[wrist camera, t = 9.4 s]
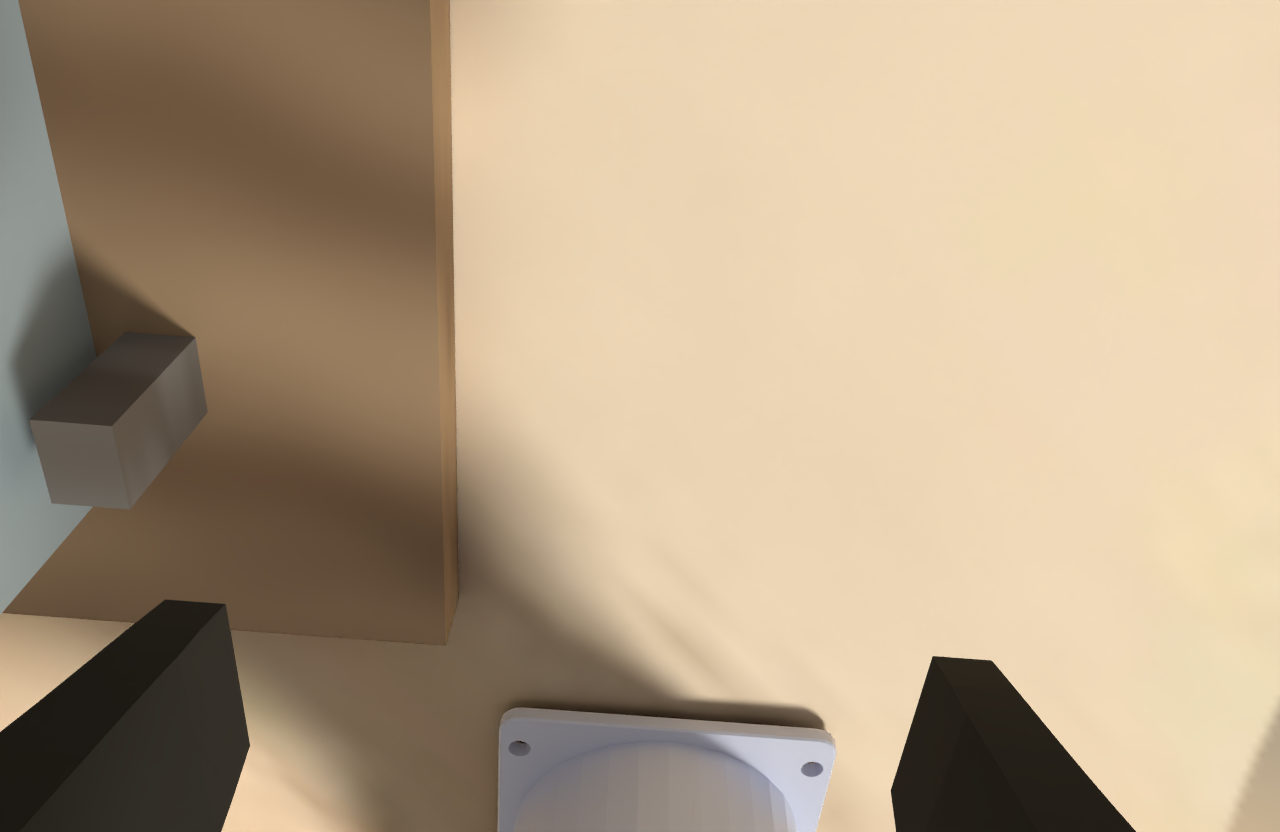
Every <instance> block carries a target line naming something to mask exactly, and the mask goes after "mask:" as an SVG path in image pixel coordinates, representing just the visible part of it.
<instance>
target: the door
mask: <svg viewBox="0 0 1280 832" xmlns="http://www.w3.org/2000/svg"><path fill="white" fill-rule="evenodd" d="M96 358H97V356H96V351H95V347H94V342H93V338H92V333H91V328H90V324H89V319H88V315H87V310H86V306H85V301H84V297H83V292H82V288H81V283H80V279H79V274H78V270H77V265H76V260H75V256H74V251H73V247H72V242H71V238H70V233H69V229H68V224H67V220H66V215H65V211H64V206H63V202H62V197H61V192H60V188H59V183H58V179H57V174H56V170H55V165H54V161H53V156H52V152H51V147H50V143H49V138H48V134H47V129H46V124H45V120H44V115H43V111H42V106H41V102H40V97H39V93H38V88H37V84H36V79H35V75H34V70H33V66H32V61H31V57H30V52H29V47H28V43H27V38H26V34H25V29H24V25H23V20H22V16H21V11H20V7H19V2H18V0H0V615H1V613H2V612H3V611H4V610H5V609H6V608H7V606H8V605H9V604H10V603H11V602H12V601H13V599H14V598H15V597H16V596H17V595H18V594H19V592H20V591H21V590H22V589H23V588H24V587H25V585H26V584H27V583H28V582H29V581H30V580H31V578H32V577H33V576H34V575H35V574H36V573H37V571H38V570H39V569H40V568H41V567H42V566H43V564H44V563H45V562H46V561H47V560H48V559H49V557H50V556H51V555H52V554H53V553H54V552H55V550H56V549H57V548H58V547H59V546H60V545H61V543H62V542H63V541H64V540H65V539H66V538H67V536H68V535H69V534H70V533H71V532H72V531H73V529H74V528H75V527H76V526H77V525H78V524H79V523H80V521H81V520H82V519H83V518H84V517H85V516H86V514H87V513H88V512H89V511H90V510H91V509H92V506H79V505H65V504H52V503H51V499H50V496H49V492H48V488H47V485H46V481H45V477H44V473H43V470H42V466H41V462H40V459H39V455H38V451H37V447H36V444H35V440H34V436H33V433H32V429H31V425H30V421H29V419H30V418H32V417H33V416H34V415H35V414H36V413H37V412H38V411H39V410H40V409H41V408H43V407H44V406H45V405H46V404H47V403H48V402H49V401H50V400H51V399H52V398H54V397H55V396H56V395H57V394H58V393H59V392H60V391H61V390H62V389H63V388H64V387H66V386H67V385H68V384H69V383H70V382H71V381H72V380H73V379H74V378H75V377H77V376H78V375H79V374H80V373H81V372H82V371H83V370H84V369H85V368H86V367H88V366H89V365H90V364H91V363H92V362H93V361H94V360H95V359H96Z"/></svg>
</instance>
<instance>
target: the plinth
mask: <svg viewBox="0 0 1280 832" xmlns="http://www.w3.org/2000/svg"><path fill="white" fill-rule="evenodd" d="M18 2H19V7H20V11H21V16H22V20H23V25H24V29H25V34H26V38H27V43H28V47H29V52H30V57H31V61H32V66H33V70H34V75H35V79H36V84H37V88H38V93H39V97H40V102H41V106H42V111H43V115H44V120H45V124H46V129H47V134H48V138H49V143H50V147H51V152H52V156H53V161H54V165H55V170H56V174H57V179H58V183H59V188H60V192H61V197H62V202H63V206H64V211H65V215H66V220H67V224H68V229H69V233H70V238H71V242H72V247H73V251H74V256H75V260H76V265H77V270H78V274H79V279H80V283H81V288H82V292H83V297H84V301H85V306H86V310H87V315H88V319H89V324H90V328H91V333H92V338H93V342H94V347H95V351H96V356H97V358H96V359H95V360H94V361H93V362H92V363H91V364H90V365H89V366H88V367H86V368H85V369H84V370H83V371H82V372H81V373H80V374H79V375H78V376H77V377H75V378H74V379H73V380H72V381H71V382H70V383H69V384H68V385H67V386H66V387H64V388H63V389H62V390H61V391H60V392H59V393H58V394H57V395H56V396H55V397H54V398H52V399H51V400H50V401H49V402H48V403H47V404H46V405H45V406H44V407H43V408H41V409H40V410H39V411H38V412H37V413H36V414H35V415H34V416H33V417H32V418H30V419H29V421H30V425H31V429H32V433H33V436H34V440H35V444H36V447H37V451H38V455H39V459H40V462H41V466H42V470H43V473H44V477H45V481H46V485H47V488H48V492H49V496H50V499H51V503H52V504H65V505H79V506H92V509H91V510H90V511H89V512H88V513H87V514H86V516H85V517H84V518H83V519H82V520H81V521H80V523H79V524H78V525H77V526H76V527H75V528H74V529H73V531H72V532H71V533H70V534H69V535H68V536H67V538H66V539H65V540H64V541H63V542H62V543H61V545H60V546H59V547H58V548H57V549H56V550H55V552H54V553H53V554H52V555H51V556H50V557H49V559H48V560H47V561H46V562H45V563H44V564H43V566H42V567H41V568H40V569H39V570H38V571H37V573H36V574H35V575H34V576H33V577H32V578H31V580H30V581H29V582H28V583H27V584H26V585H25V587H24V588H23V589H22V590H21V591H20V592H19V594H18V595H17V596H16V597H15V598H14V599H13V601H12V602H11V603H10V604H9V605H8V606H7V608H6V609H5V610H4V611H3V612H2V613H10V614H24V615H38V616H51V617H65V618H79V619H92V620H106V621H119V622H133V623H136V622H137V621H139V620H140V619H141V618H142V617H144V616H145V615H146V614H147V613H149V612H150V611H151V610H152V609H154V608H155V607H156V606H157V605H159V604H160V603H161V602H163V601H164V600H165V599H166V600H180V601H193V602H207V603H220V604H226V608H227V614H228V620H229V626H230V630H242V631H256V632H269V633H283V634H297V635H310V636H324V637H338V638H351V639H365V640H378V641H392V642H406V643H419V644H433V645H446V643H447V639H448V635H449V632H450V628H451V624H452V621H453V617H454V613H455V609H456V606H457V602H458V598H459V590H458V525H457V460H456V395H455V330H454V265H453V200H452V135H451V70H450V5H449V0H18Z"/></svg>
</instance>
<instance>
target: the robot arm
mask: <svg viewBox="0 0 1280 832" xmlns="http://www.w3.org/2000/svg"><path fill="white" fill-rule="evenodd" d="M515 741H522V742H526V743H518V742H515ZM249 747H250V743H249V737H248V731H247V725H246V719H245V714H244V708H243V702H242V696H241V690H240V684H239V679H238V673H237V667H236V661H235V655H234V649H233V643H232V638H231V632H230V626H229V620H228V614H227V608H226V604H220V603H207V602H193V601H180V600H166V599H165V600H164V601H163V602H161V603H160V604H159V605H157V606H156V607H155V608H154V609H152V610H151V611H150V612H149V613H147V614H146V615H145V616H144V617H142V618H141V619H140V620H139V621H137V622H136V623H135V624H134V625H132V626H131V627H130V628H129V629H127V630H126V631H125V632H124V633H122V634H121V635H120V636H119V637H117V638H116V639H115V640H114V641H113V642H111V643H110V644H109V645H108V646H106V647H105V648H104V649H103V650H102V651H100V652H99V653H98V654H97V655H95V656H94V657H93V658H92V659H91V660H89V661H88V662H87V663H86V664H84V665H83V666H82V667H81V668H80V669H78V670H77V671H76V672H75V673H73V674H72V675H71V676H70V677H68V678H67V679H66V680H65V681H64V682H62V683H61V684H60V685H59V686H57V687H56V688H55V689H54V690H52V691H51V692H50V693H49V694H48V695H46V696H45V697H44V698H43V699H41V700H40V701H39V702H38V703H36V704H35V705H34V706H33V707H31V708H30V709H29V710H28V711H26V712H25V713H24V714H23V715H21V716H20V717H19V718H17V719H16V720H15V721H14V722H12V723H11V724H10V725H9V726H7V727H6V728H5V729H3V730H2V731H1V732H0V832H221V830H222V828H223V825H224V822H225V819H226V816H227V813H228V810H229V808H230V805H231V802H232V799H233V796H234V793H235V790H236V787H237V784H238V781H239V778H240V774H241V771H242V768H243V765H244V762H245V759H246V756H247V753H248V750H249ZM835 758H836V746H835V741H834V738H833V737H832V735H831V734H830V733H828V732H827V731H825V730H821V729H815V728H802V727H788V726H774V725H760V724H746V723H732V722H718V721H704V720H690V719H676V718H663V717H649V716H635V715H621V714H607V713H593V712H579V711H565V710H551V709H537V708H524V707H521V708H513V709H510V710H508V711H506V712H505V713H504V714H503V715H502V718H501V722H500V727H499V756H498V832H816V830H817V826H818V822H819V819H820V815H821V811H822V807H823V803H824V800H825V796H826V792H827V788H828V784H829V781H830V777H831V773H832V769H833V765H834V762H835ZM808 762H815V763H809V764H808ZM891 796H892V803H893V811H894V818H895V826H896V832H1136V831H1135V830H1134V829H1133V828H1132V827H1131V825H1130V824H1129V823H1128V822H1127V821H1126V820H1125V819H1124V817H1123V816H1122V815H1121V814H1120V813H1119V812H1118V811H1117V809H1116V808H1115V807H1114V806H1113V805H1112V804H1111V803H1110V801H1109V800H1108V799H1107V798H1106V797H1105V796H1104V794H1103V793H1102V792H1101V791H1100V790H1099V789H1098V787H1097V786H1096V785H1095V784H1094V783H1093V782H1092V780H1091V779H1090V778H1089V777H1088V776H1087V775H1086V773H1085V772H1084V771H1083V770H1082V769H1081V767H1080V766H1079V765H1078V764H1077V763H1076V761H1075V760H1074V759H1073V758H1072V757H1071V755H1070V754H1069V753H1068V752H1067V751H1066V750H1065V748H1064V747H1063V746H1062V745H1061V744H1060V742H1059V741H1058V740H1057V739H1056V738H1055V736H1054V735H1053V734H1052V733H1051V731H1050V730H1049V729H1048V728H1047V727H1046V725H1045V724H1044V723H1043V722H1042V721H1041V719H1040V718H1039V717H1038V716H1037V714H1036V713H1035V712H1034V711H1033V710H1032V708H1031V707H1030V706H1029V705H1028V704H1027V702H1026V701H1025V700H1024V699H1023V698H1022V696H1021V695H1020V694H1019V693H1018V691H1017V690H1016V689H1015V688H1014V687H1013V685H1012V684H1011V683H1010V682H1009V681H1008V679H1007V678H1006V677H1005V676H1004V675H1003V673H1002V672H1001V671H1000V670H999V669H998V667H997V666H996V665H995V664H994V663H993V662H992V661H990V660H976V659H963V658H949V657H936V656H933V657H932V660H931V664H930V667H929V670H928V673H927V676H926V680H925V683H924V686H923V689H922V692H921V696H920V699H919V702H918V705H917V708H916V712H915V715H914V718H913V721H912V724H911V728H910V731H909V734H908V737H907V740H906V744H905V747H904V750H903V753H902V756H901V760H900V763H899V766H898V769H897V772H896V776H895V779H894V782H893V785H892V788H891Z"/></svg>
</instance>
